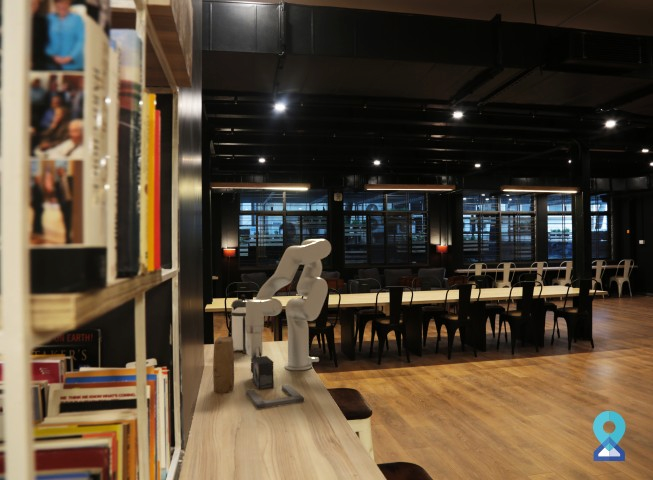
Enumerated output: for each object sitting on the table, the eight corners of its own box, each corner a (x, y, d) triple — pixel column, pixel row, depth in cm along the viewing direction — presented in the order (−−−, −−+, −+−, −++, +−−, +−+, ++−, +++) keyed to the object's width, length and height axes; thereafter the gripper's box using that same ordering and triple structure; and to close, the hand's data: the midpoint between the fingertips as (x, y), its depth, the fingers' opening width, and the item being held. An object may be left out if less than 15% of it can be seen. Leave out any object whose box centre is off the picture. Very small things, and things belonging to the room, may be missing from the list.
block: (232, 393, 169) (232, 340, 169) (212, 394, 168) (211, 341, 169) (235, 385, 180) (235, 334, 180) (216, 385, 179) (216, 335, 179)
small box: (251, 383, 182) (251, 357, 183) (267, 381, 185) (266, 355, 185) (258, 390, 173) (257, 363, 173) (274, 388, 175) (274, 361, 176)
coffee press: (259, 353, 234) (259, 295, 235) (228, 354, 232) (228, 296, 232) (259, 346, 251) (258, 292, 252) (230, 347, 249) (229, 293, 249)
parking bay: (289, 388, 175) (289, 384, 175) (304, 401, 159) (304, 397, 159) (246, 394, 168) (246, 390, 168) (257, 409, 153) (257, 404, 153)
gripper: (242, 326, 196) (242, 369, 196) (250, 332, 182) (250, 378, 182) (259, 325, 199) (259, 367, 199) (268, 331, 185) (268, 375, 185)
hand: (255, 372), depth 190 cm, fingers closed
